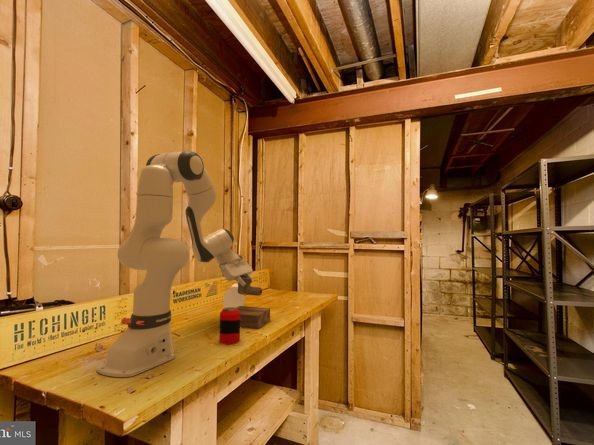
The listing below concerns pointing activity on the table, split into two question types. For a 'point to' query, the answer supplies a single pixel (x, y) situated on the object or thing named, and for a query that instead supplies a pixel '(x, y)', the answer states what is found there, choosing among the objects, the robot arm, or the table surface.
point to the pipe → (248, 287)
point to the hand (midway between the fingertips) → (248, 283)
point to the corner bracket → (233, 297)
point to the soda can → (229, 325)
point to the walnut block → (253, 317)
